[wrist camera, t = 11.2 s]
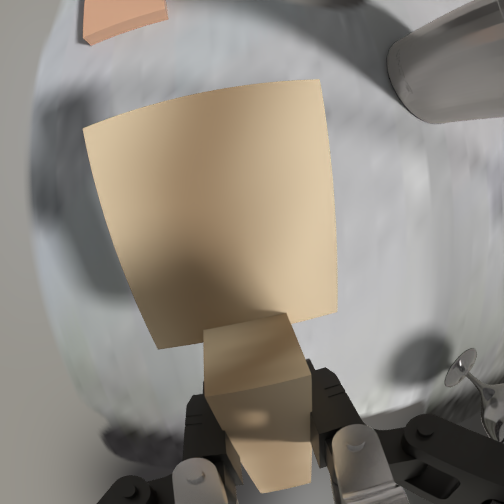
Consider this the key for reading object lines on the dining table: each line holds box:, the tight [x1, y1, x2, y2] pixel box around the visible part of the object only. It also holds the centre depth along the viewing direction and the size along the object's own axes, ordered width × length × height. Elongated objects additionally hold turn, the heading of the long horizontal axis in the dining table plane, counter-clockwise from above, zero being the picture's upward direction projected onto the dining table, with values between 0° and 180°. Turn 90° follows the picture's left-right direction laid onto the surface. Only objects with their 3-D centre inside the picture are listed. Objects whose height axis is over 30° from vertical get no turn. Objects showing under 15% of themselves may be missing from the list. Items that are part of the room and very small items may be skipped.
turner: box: [83, 79, 337, 493], centre depth 8 cm, size 6×16×4 cm, turn 10°
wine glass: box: [445, 348, 504, 443], centre depth 23 cm, size 8×8×15 cm
